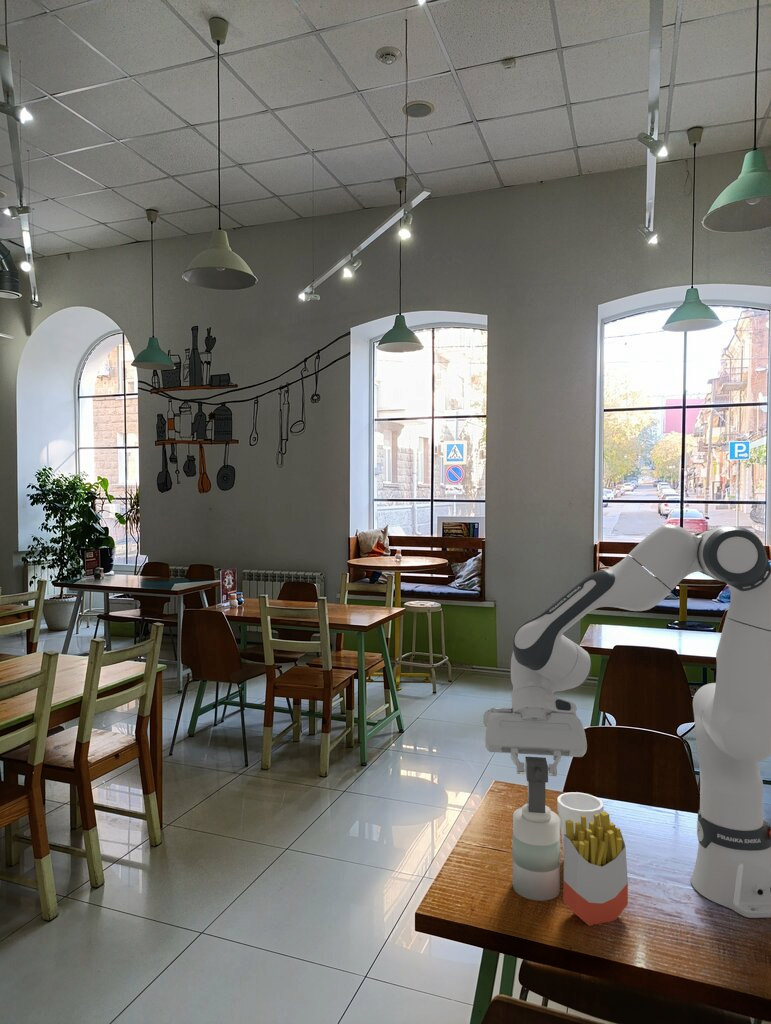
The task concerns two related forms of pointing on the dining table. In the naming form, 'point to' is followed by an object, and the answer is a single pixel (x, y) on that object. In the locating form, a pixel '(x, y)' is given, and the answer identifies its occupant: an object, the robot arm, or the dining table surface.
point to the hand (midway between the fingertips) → (536, 774)
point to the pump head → (536, 769)
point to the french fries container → (595, 870)
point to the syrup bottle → (536, 847)
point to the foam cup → (577, 809)
